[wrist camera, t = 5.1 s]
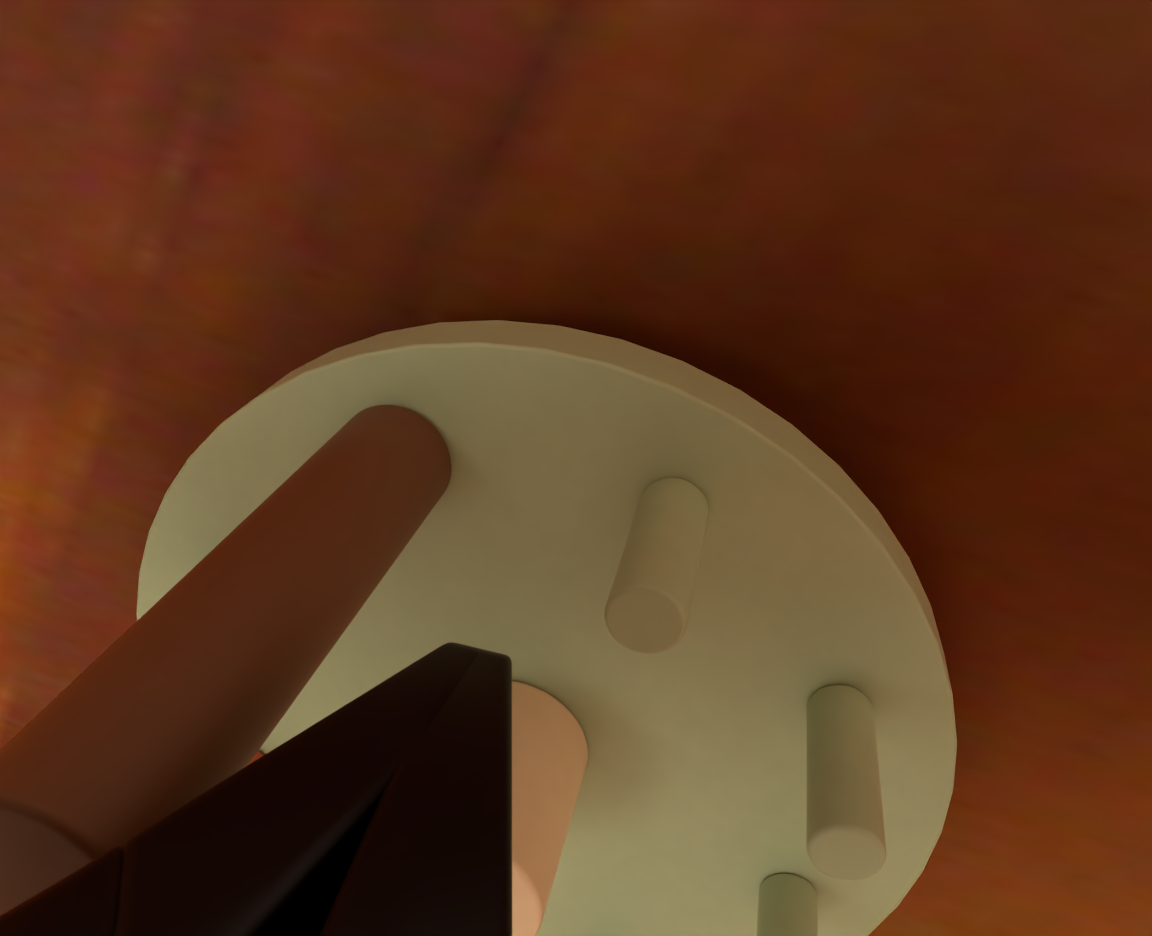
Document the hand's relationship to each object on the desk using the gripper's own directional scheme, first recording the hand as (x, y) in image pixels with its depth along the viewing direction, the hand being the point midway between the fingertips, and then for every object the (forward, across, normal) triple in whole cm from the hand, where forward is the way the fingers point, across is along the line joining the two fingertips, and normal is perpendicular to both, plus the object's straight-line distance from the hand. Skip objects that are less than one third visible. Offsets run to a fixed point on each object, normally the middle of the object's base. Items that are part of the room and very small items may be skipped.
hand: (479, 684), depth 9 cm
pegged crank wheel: (+5, +1, +5) cm, 7 cm away
